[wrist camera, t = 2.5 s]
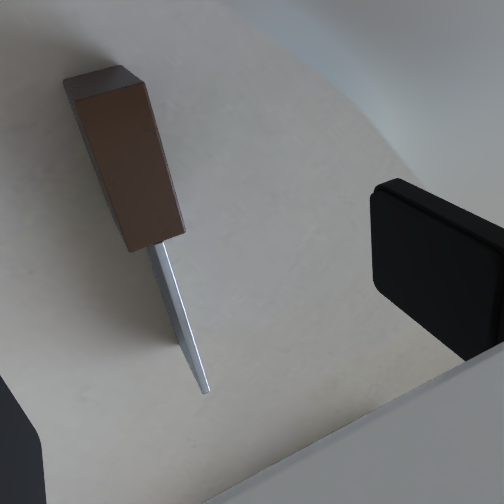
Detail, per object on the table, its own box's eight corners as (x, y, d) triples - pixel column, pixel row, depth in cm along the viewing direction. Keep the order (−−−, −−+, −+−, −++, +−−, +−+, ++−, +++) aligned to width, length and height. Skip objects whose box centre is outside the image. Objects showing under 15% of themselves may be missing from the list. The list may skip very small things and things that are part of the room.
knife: (61, 79, 19) (73, 101, 15) (121, 64, 19) (144, 81, 16) (162, 353, 27) (184, 403, 24) (202, 336, 28) (228, 383, 24)
